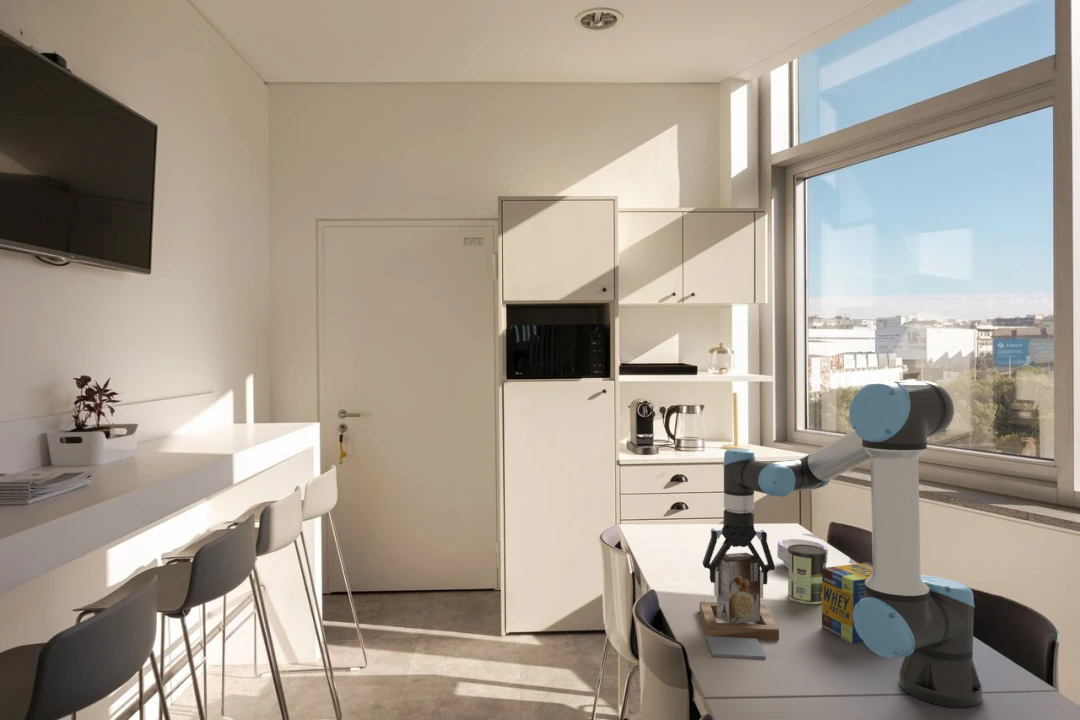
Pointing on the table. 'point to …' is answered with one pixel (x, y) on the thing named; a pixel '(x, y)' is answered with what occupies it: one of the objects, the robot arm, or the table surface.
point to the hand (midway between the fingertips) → (738, 595)
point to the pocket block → (715, 629)
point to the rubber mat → (735, 647)
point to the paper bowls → (786, 543)
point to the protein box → (843, 598)
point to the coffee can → (805, 573)
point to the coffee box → (739, 588)
